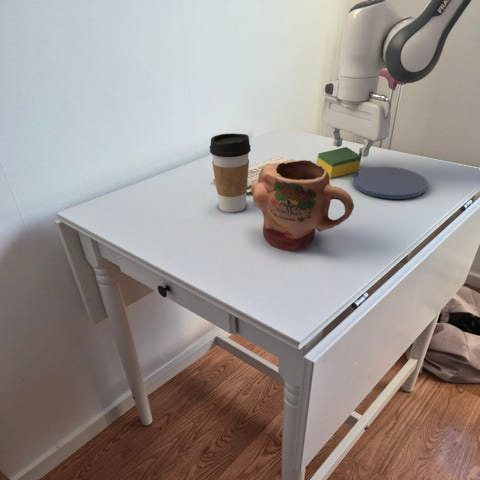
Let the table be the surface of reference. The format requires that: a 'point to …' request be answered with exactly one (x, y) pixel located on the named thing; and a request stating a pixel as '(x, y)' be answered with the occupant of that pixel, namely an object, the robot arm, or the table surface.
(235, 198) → the coffee cup
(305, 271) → the table surface
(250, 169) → the newspaper
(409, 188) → the plate
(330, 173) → the sponge
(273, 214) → the sculpted ceramic mug
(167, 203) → the table surface
